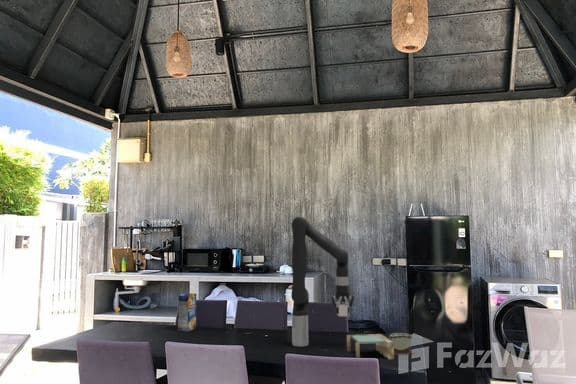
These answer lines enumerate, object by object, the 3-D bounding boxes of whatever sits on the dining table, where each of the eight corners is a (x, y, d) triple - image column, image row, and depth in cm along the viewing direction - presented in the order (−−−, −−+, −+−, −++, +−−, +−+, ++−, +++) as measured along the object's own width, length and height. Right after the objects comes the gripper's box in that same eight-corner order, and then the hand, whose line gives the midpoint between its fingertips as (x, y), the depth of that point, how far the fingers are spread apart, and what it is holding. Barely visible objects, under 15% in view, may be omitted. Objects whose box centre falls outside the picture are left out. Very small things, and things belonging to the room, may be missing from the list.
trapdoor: (359, 343, 222) (359, 341, 222) (352, 337, 236) (352, 336, 236) (385, 342, 224) (385, 340, 224) (376, 337, 237) (376, 335, 238)
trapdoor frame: (356, 360, 218) (356, 343, 219) (346, 350, 238) (346, 334, 239) (394, 359, 220) (393, 342, 221) (381, 349, 240) (380, 333, 241)
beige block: (339, 316, 247) (339, 305, 248) (337, 314, 252) (337, 304, 252) (347, 316, 247) (347, 305, 248) (345, 314, 252) (345, 304, 253)
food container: (409, 351, 236) (408, 332, 237) (412, 354, 230) (411, 334, 231) (386, 351, 236) (386, 332, 237) (390, 354, 230) (389, 335, 231)
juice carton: (186, 327, 304) (187, 293, 307) (195, 328, 303) (196, 293, 305) (177, 331, 293) (178, 295, 296) (187, 331, 291) (188, 295, 294)
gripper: (331, 284, 247) (331, 315, 245) (355, 284, 249) (356, 314, 247) (328, 283, 255) (328, 312, 253) (352, 283, 256) (352, 312, 254)
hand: (342, 313), depth 250 cm, fingers closed on beige block, 5 cm apart
